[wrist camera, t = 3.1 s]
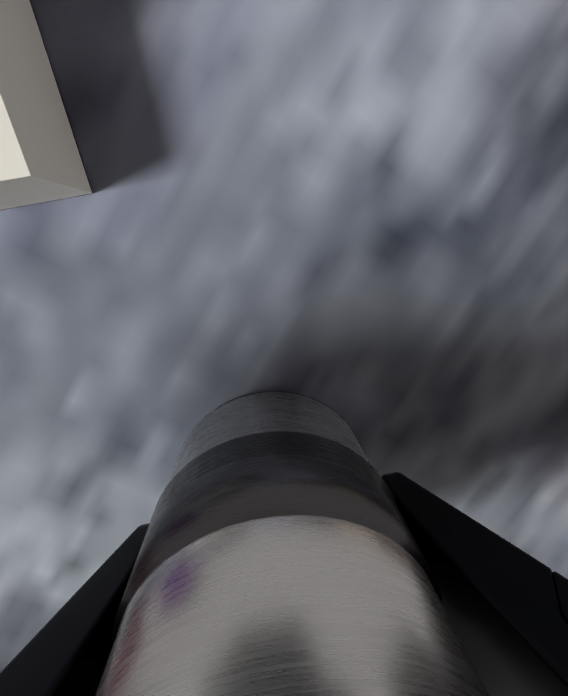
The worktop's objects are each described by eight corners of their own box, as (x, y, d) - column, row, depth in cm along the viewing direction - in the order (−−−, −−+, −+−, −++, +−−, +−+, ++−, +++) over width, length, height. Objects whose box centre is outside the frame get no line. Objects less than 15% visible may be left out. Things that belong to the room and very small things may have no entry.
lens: (375, 531, 10) (561, 983, 4) (200, 569, 10) (113, 1095, 4) (355, 369, 8) (618, 707, 2) (146, 411, 8) (-149, 881, 2)
